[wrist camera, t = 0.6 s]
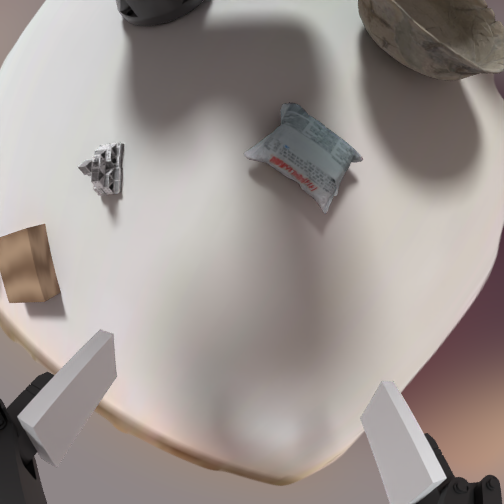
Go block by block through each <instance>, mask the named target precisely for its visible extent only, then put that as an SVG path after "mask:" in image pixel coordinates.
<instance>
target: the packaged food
mask: <svg viewBox="0 0 504 504" xmlns="http://www.w3.org/2000/svg"><path fill="white" fill-rule="evenodd" d="M244 155H245V156H246V158H248V159H250V160H256V161H260V162H266V163H268V164H269V165H270V166H272V167H273V168H275V169H276V170H277V171H279V172H280V173H281V174H283V175H284V176H286V177H288V178H290V179H292V180H294V181H296V182H298V183H299V184H300V187H301V188H302V189H303V190H304V191H305V192H306V193H308V194H309V195H310V196H311V197H313V198H314V199H315V201H316V202H317V203H318V204H319V206H320V207H321V209H322V211H323V213H325V214H326V213H327V211H328V208H329V205H330V203H331V202H332V198H333V196H334V195H335V196H336V195H337V194H338V189H339V185H340V182H341V180H342V178H343V176H344V174H345V172H346V171H347V169H348V168H349V166H350V164H351V162H359V161H360V162H361V161H362V160H363V158H362V157H361V156H360V155H359V153H358V152H357V151H356V150H355V149H354V148H352V147H351V146H350V145H349V144H348V143H347V142H345V141H344V140H343V139H341V138H340V137H339V136H337V135H336V134H335V133H333V132H332V131H331V130H329V129H328V128H326V127H325V126H324V125H323V124H322V123H321V122H319V121H318V120H316V119H315V118H313V117H311V116H310V115H308V114H307V112H306V111H305V110H304V109H303V108H302V107H301V106H300V105H298V104H295V103H288V104H286V103H285V104H282V108H281V125H280V126H278V127H277V128H276V129H275V130H274V132H273V133H271V134H270V135H268V136H267V137H265V138H264V139H263V140H262V141H260V142H259V143H258V144H256V145H255V146H254V147H252V148H250V149H249V150H248V151H246V152H245V153H244ZM334 193H335V194H334Z"/></svg>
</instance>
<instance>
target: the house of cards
mask: <svg viewBox="0 0 504 504" xmlns="http://www.w3.org/2000/svg"><path fill="white" fill-rule="evenodd" d="M122 150H123V144H122V143H121V142H117V143H109V144H104V145H100V146H99V148H98V149H96V150H95V154H94V155H93V159H92V160H93V161H92V160H85V161H84V162H83V163H81V164H80V165H79V166H78V168H79V169H80V170H81V171H82V173H83V174H84V175H88V176H91V182H92V183H93V189H94V190H95V191H96V192H97V194H98V195H110V194H114V193H119V192H121V169H122V168H121V161H122ZM114 180H118V181H114Z"/></svg>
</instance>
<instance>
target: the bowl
mask: <svg viewBox="0 0 504 504" xmlns="http://www.w3.org/2000/svg"><path fill="white" fill-rule="evenodd" d="M358 9H359V15H360V17H361V20H362V22H363V24H364V26H365V28H366V30H367V32H368V33H369V34H370V36H371V37H372V39H373V40H374V41H375V42H376V44H377V45H378V46H379V47H380V48H381V49H383V50H384V51H385V52H387V53H388V54H389V55H390V56H392V57H393V58H394V59H395V60H397V61H398V62H400V63H401V64H403V65H405V66H406V67H408V68H410V69H412V70H414V71H416V72H418V73H420V74H423V75H426V76H429V77H432V78H435V79H440V80H447V81H451V80H459V79H463V78H466V77H469V76H472V75H476V74H479V73H493V74H496V73H501V72H502V71H504V27H503V25H502V23H501V22H500V21H495V14H494V12H493V11H492V9H491V8H487V4H486V2H485V1H484V0H358Z"/></svg>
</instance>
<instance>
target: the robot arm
mask: <svg viewBox="0 0 504 504" xmlns="http://www.w3.org/2000/svg"><path fill="white" fill-rule="evenodd" d="M202 1H203V0H116V3H117V8H118V10H119V12H120V14H121V15H122V16H123V17H124V18H125V19H126V20H127V21H128V22H129V23H131V24H134V25H139V26H151V25H158V24H162V23H166V22H169V21H171V20H174V19H176V18H179V17H181V16H183V15H185V14H187V13H188V12H190V11H191V10H193V9H194V8H196V7H197V6H198V5H199V4H200V3H201V2H202ZM116 377H117V373H116V362H115V349H114V334H112V333H109V332H106V331H103V330H101V329H100V330H99V331H98V332H97V333H96V334H95V335H94V336H93V337H92V338H91V339H90V340H89V341H88V342H87V343H86V344H85V345H84V346H83V347H82V348H81V349H80V350H79V351H78V352H77V353H76V354H75V355H74V356H73V357H72V358H71V359H70V360H69V361H68V362H67V363H66V364H65V365H64V366H63V367H62V368H61V369H60V370H59V371H58V373H57V374H56V375H55V376H54V375H53V374H51V373H49V372H46V373H44V374H42V375H39V376H38V377H37V378H36V379H35V380H34V381H33V382H32V383H31V385H29V386H28V387H27V388H26V390H24V391H23V392H22V393H21V394H20V395H19V396H18V397H17V398H16V399H15V400H14V401H13V402H12V403H11V405H10V406H9V407H8V408H7V409H6V407H5V405H4V403H3V402H2V400H1V399H0V504H47V502H46V498H45V495H44V492H43V488H42V485H41V481H40V477H39V473H38V469H37V464H36V460H35V458H34V455H35V454H36V452H38V454H39V455H40V457H41V458H42V459H43V460H44V461H46V462H48V463H49V464H51V465H53V466H54V467H56V468H57V467H58V466H59V464H60V462H61V461H62V459H63V457H64V456H65V454H66V452H67V451H68V450H69V448H70V446H71V445H72V443H73V442H74V440H75V439H76V437H77V435H78V434H79V432H80V431H81V429H82V428H83V426H84V425H85V423H86V422H87V420H88V419H89V417H90V416H91V414H92V413H93V411H94V410H95V408H96V407H97V405H98V404H99V402H100V401H101V399H102V398H103V396H104V395H105V393H106V392H107V390H108V389H109V388H110V386H111V385H112V383H113V382H114V380H115V379H116ZM360 419H361V421H362V424H363V427H364V430H365V432H366V435H367V438H368V441H369V443H370V446H371V449H372V452H373V455H374V458H375V460H376V463H377V466H378V469H379V472H380V475H381V478H382V481H383V484H384V487H385V490H386V493H387V496H388V499H389V503H390V504H502V497H501V488H500V483H499V480H498V479H497V478H496V477H495V476H493V475H487V476H486V477H484V478H483V479H482V480H481V481H480V482H477V483H468V482H467V480H465V479H464V478H461V477H456V478H455V476H454V475H453V473H452V471H451V469H450V467H449V465H448V463H447V462H446V460H445V458H444V456H443V455H442V452H441V450H440V449H438V448H439V447H438V445H437V443H436V442H435V440H434V439H433V438H432V437H431V436H430V435H429V434H428V433H426V434H424V433H423V432H422V430H421V428H420V426H419V424H418V423H417V421H416V419H415V417H414V415H413V414H412V412H411V410H410V408H409V407H408V405H407V403H406V402H405V400H404V398H403V397H402V395H401V393H400V391H399V390H398V388H397V386H396V385H395V383H394V381H381V383H380V385H379V387H378V389H377V390H376V392H375V394H374V396H373V397H372V399H371V401H370V403H369V404H368V406H367V408H366V409H365V411H364V413H363V414H362V416H361V417H360Z"/></svg>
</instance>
